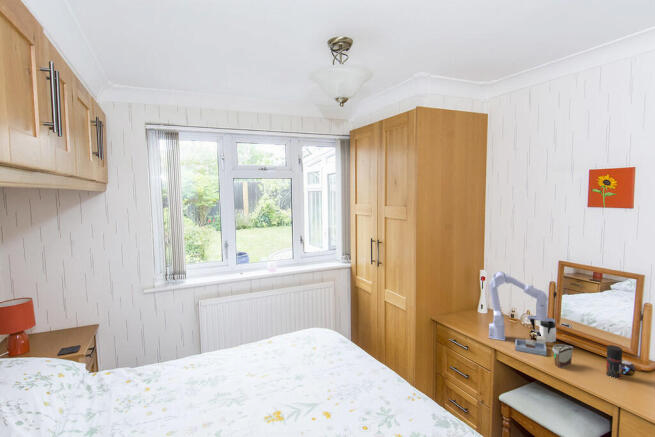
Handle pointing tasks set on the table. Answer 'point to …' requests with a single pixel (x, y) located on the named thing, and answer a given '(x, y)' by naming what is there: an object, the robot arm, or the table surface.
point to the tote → (539, 348)
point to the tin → (530, 343)
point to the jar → (544, 331)
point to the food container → (562, 355)
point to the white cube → (541, 339)
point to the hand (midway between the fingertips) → (541, 331)
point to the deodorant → (614, 361)
